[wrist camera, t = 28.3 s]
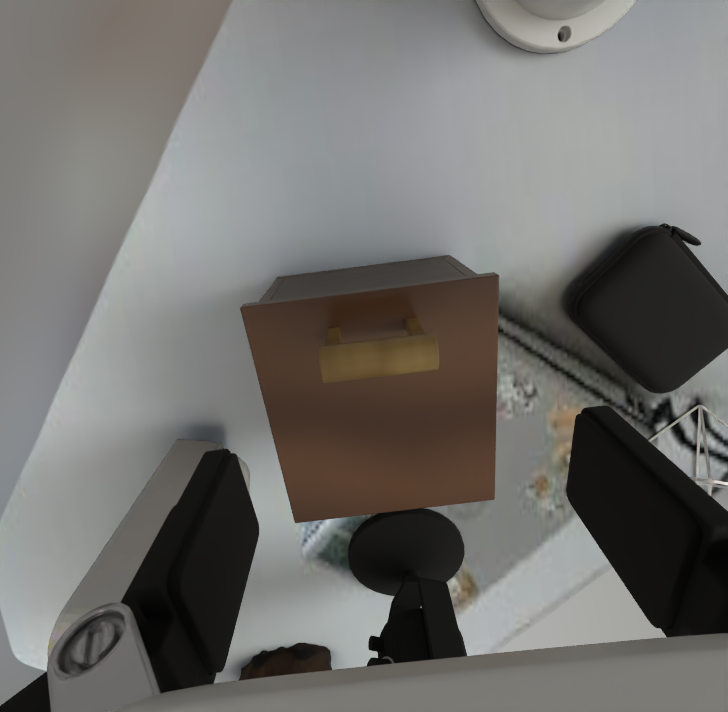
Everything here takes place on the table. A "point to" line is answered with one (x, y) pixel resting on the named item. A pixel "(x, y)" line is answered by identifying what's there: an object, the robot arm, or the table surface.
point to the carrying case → (654, 308)
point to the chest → (366, 277)
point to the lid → (381, 394)
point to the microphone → (411, 583)
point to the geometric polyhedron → (700, 422)
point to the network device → (136, 534)
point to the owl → (288, 662)
